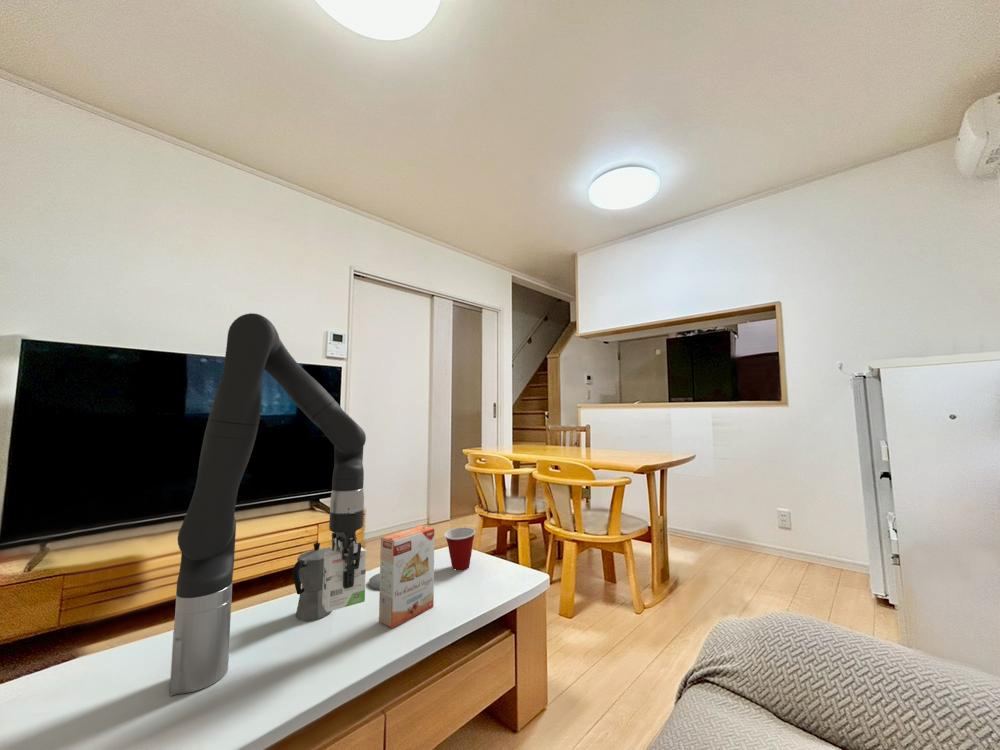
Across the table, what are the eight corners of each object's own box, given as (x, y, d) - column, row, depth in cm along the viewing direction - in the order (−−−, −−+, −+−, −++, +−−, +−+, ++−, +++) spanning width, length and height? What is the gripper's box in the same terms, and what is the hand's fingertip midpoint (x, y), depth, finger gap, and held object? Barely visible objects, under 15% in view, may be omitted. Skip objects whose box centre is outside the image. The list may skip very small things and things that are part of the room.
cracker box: (393, 630, 94) (393, 540, 97) (378, 622, 98) (379, 536, 100) (435, 606, 105) (435, 527, 108) (420, 601, 109) (420, 524, 111)
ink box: (359, 594, 94) (360, 544, 96) (365, 602, 90) (367, 549, 92) (321, 604, 89) (323, 551, 91) (325, 612, 86) (328, 557, 87)
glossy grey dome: (378, 593, 114) (378, 590, 114) (363, 581, 123) (363, 577, 123) (415, 582, 122) (415, 578, 122) (398, 571, 131) (398, 567, 131)
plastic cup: (437, 569, 132) (437, 532, 133) (460, 559, 140) (460, 525, 141) (459, 576, 125) (459, 538, 126) (482, 566, 133) (482, 530, 134)
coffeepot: (315, 600, 111) (317, 534, 113) (345, 602, 109) (346, 536, 111) (274, 629, 96) (277, 553, 98) (308, 632, 94) (310, 555, 96)
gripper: (321, 505, 96) (318, 578, 94) (340, 516, 85) (337, 598, 83) (352, 501, 100) (349, 570, 98) (374, 511, 89) (371, 589, 87)
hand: (344, 583), depth 90 cm, fingers closed on ink box, 5 cm apart
